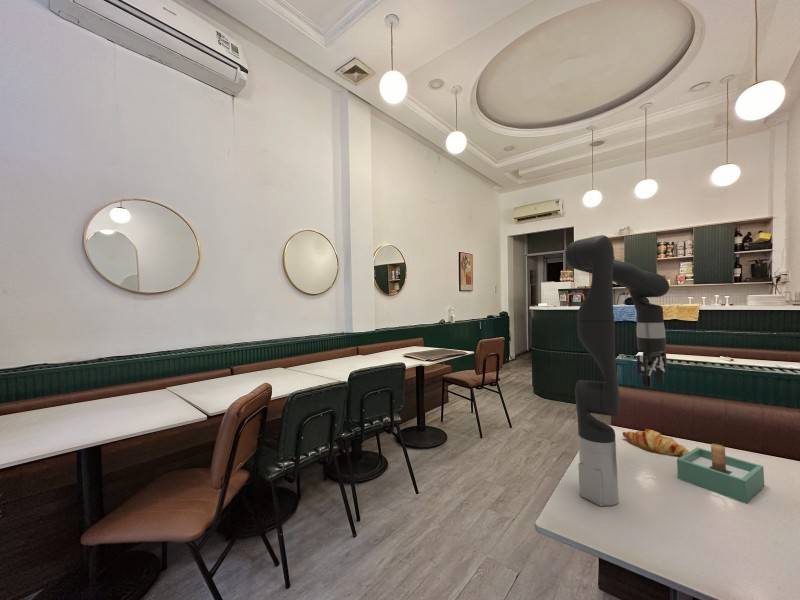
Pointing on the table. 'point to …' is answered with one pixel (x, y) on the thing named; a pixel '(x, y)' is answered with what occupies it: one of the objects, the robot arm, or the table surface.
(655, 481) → the table surface
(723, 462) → the peg
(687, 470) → the box
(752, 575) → the table surface
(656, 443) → the croissant
